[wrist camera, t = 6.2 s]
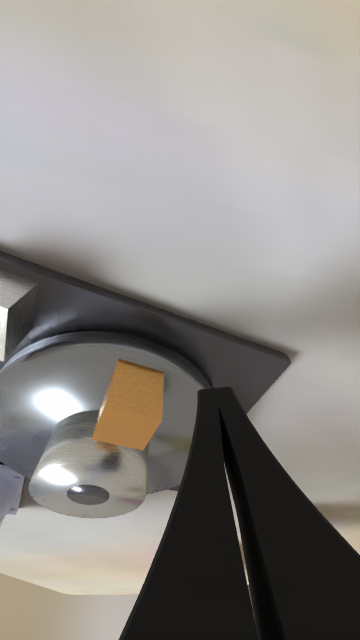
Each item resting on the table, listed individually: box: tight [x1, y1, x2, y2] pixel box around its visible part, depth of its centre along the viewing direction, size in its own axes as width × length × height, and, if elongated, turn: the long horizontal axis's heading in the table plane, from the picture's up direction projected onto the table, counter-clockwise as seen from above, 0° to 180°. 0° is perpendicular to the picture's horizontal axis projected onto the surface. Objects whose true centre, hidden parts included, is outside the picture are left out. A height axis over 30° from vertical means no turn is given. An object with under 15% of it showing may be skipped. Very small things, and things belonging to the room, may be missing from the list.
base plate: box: [0, 252, 291, 491], centre depth 17 cm, size 18×18×3 cm
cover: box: [28, 411, 149, 518], centre depth 14 cm, size 6×6×3 cm
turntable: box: [0, 331, 212, 494], centre depth 15 cm, size 15×15×5 cm
